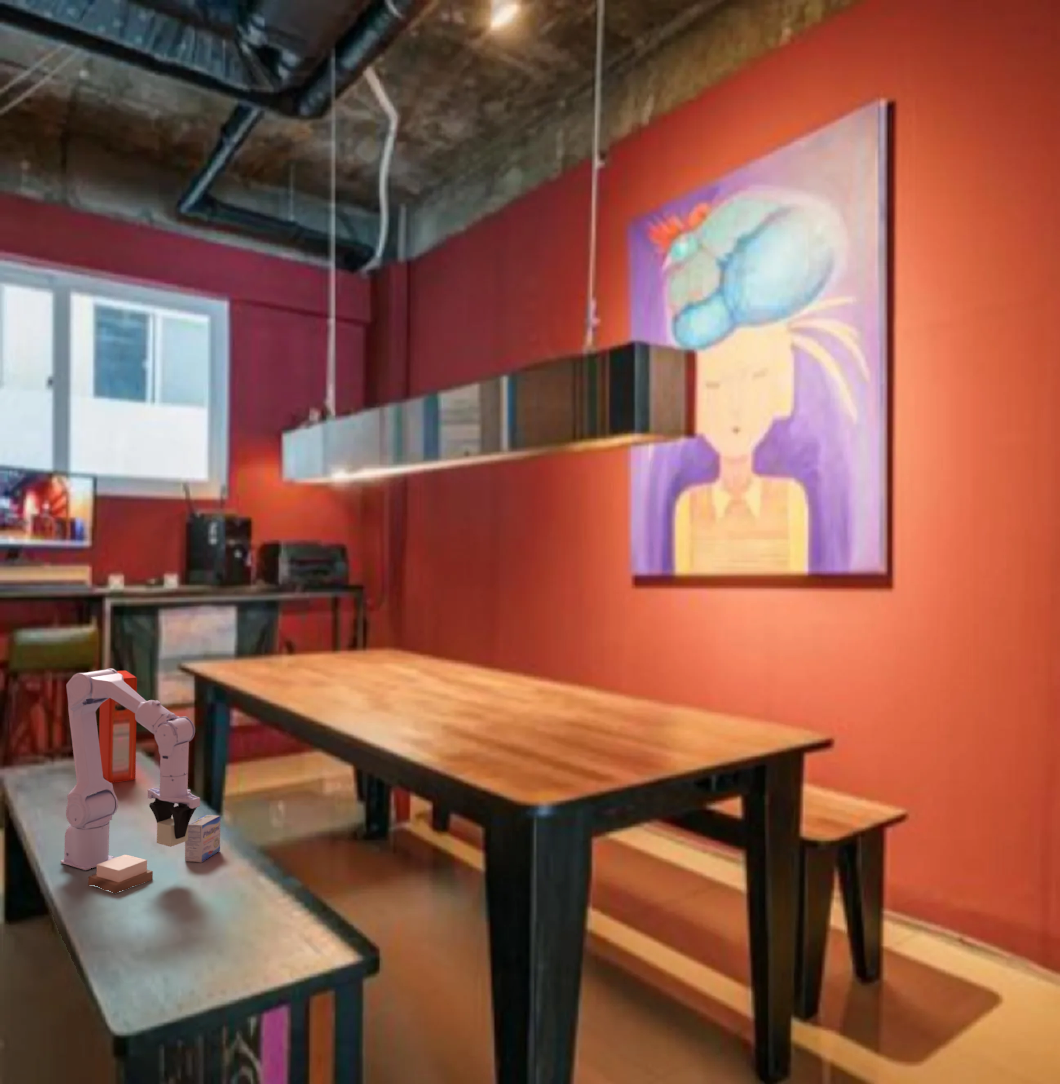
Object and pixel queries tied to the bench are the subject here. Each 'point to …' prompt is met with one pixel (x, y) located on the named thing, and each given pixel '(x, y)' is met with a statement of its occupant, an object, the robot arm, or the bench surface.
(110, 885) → the walnut base slab
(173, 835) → the beige cube
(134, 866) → the cream top slab
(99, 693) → the robot arm
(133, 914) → the bench surface
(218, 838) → the medicine box
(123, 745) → the file binder
